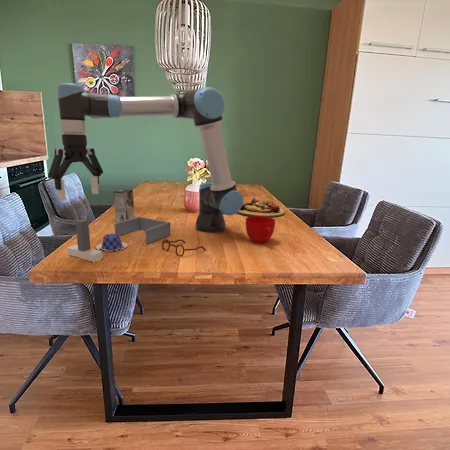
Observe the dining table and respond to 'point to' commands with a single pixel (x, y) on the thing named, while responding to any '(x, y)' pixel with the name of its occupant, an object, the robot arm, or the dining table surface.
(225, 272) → the dining table surface
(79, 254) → the scraper
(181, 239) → the glasses
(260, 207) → the wooden plate with food
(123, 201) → the coffee box
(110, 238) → the pudding
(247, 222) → the ceramic cup
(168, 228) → the bin
